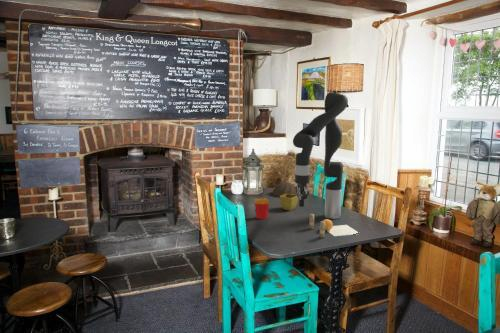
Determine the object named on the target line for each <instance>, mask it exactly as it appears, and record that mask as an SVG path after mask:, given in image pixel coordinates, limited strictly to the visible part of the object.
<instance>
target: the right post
mask: <svg viewBox="0 0 500 333" xmlns="http://www.w3.org/2000/svg"><path fill="white" fill-rule="evenodd" d="M319 238H320V239H325V238H326V230H325V222H324V221H323V220H321V221H319Z"/></svg>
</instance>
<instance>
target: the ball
mask: <svg viewBox="0 0 500 333" xmlns="http://www.w3.org/2000/svg"><path fill="white" fill-rule="evenodd" d="M322 221H324V222H325V231H326V230H330V229H331V228H332V227H333V226H334V225H333V221H332V219H331V220H330V218H326V219H323V220H322Z"/></svg>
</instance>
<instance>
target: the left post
mask: <svg viewBox="0 0 500 333" xmlns="http://www.w3.org/2000/svg"><path fill="white" fill-rule="evenodd" d="M308 216H309V217H308V220H309V222H308V229H309V230H315V213H310V214H309V215H308Z"/></svg>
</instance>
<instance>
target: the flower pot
mask: <svg viewBox="0 0 500 333" xmlns="http://www.w3.org/2000/svg"><path fill="white" fill-rule="evenodd" d="M279 199H280V201H279V202H280V206H281V207H282V209H283V210H285V211H292V210H295V209H296V207H297V205H298V202H299V198H298V197H297V195H293V194H284V195H282V196H280V197H279Z"/></svg>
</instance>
